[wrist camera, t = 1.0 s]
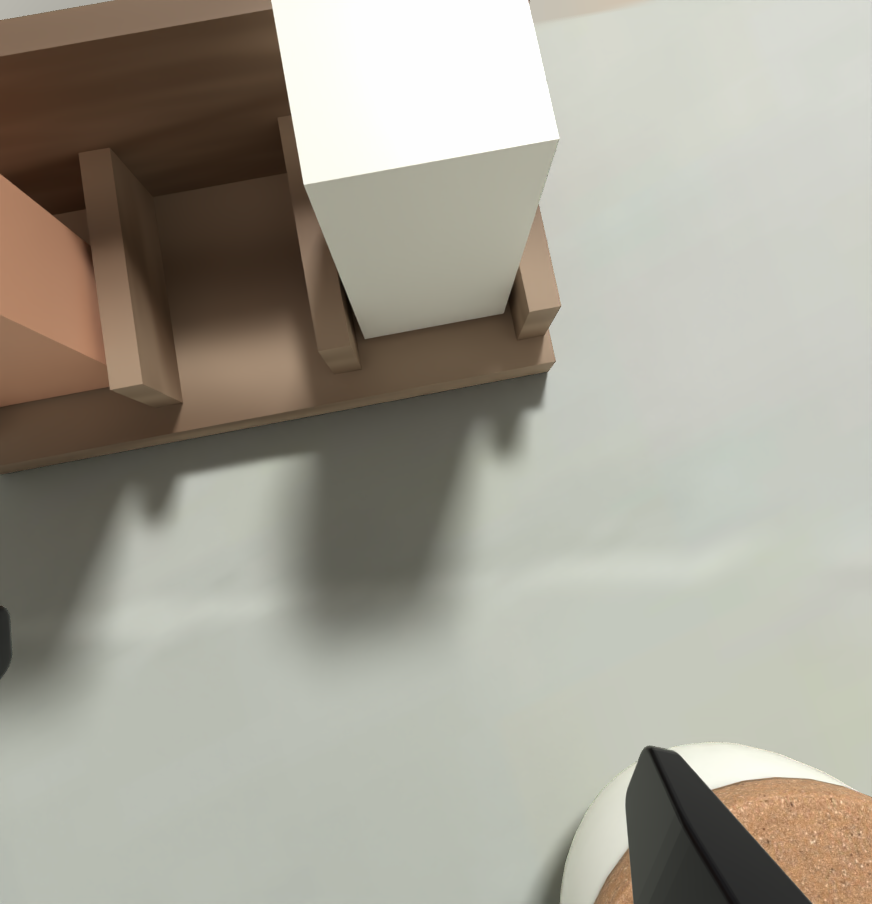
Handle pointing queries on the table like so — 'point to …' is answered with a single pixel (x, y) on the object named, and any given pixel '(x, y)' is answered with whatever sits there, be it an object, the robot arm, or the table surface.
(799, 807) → the lidded jar
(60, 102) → the wooden desk organizer
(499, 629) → the table surface
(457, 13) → the white tall block
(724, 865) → the robot arm
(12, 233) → the light orange tall block
